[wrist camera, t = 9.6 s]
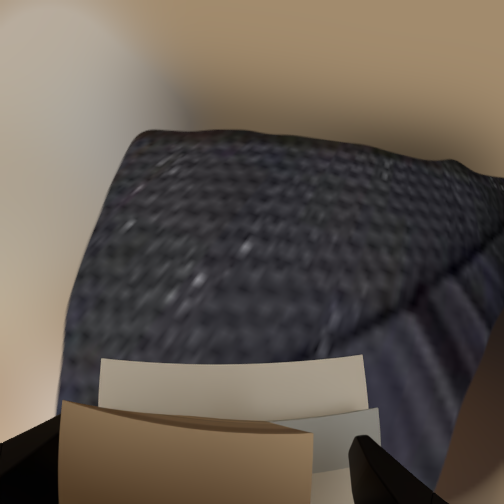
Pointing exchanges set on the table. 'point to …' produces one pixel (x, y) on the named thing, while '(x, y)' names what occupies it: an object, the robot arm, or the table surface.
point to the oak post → (179, 459)
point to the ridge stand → (260, 404)
